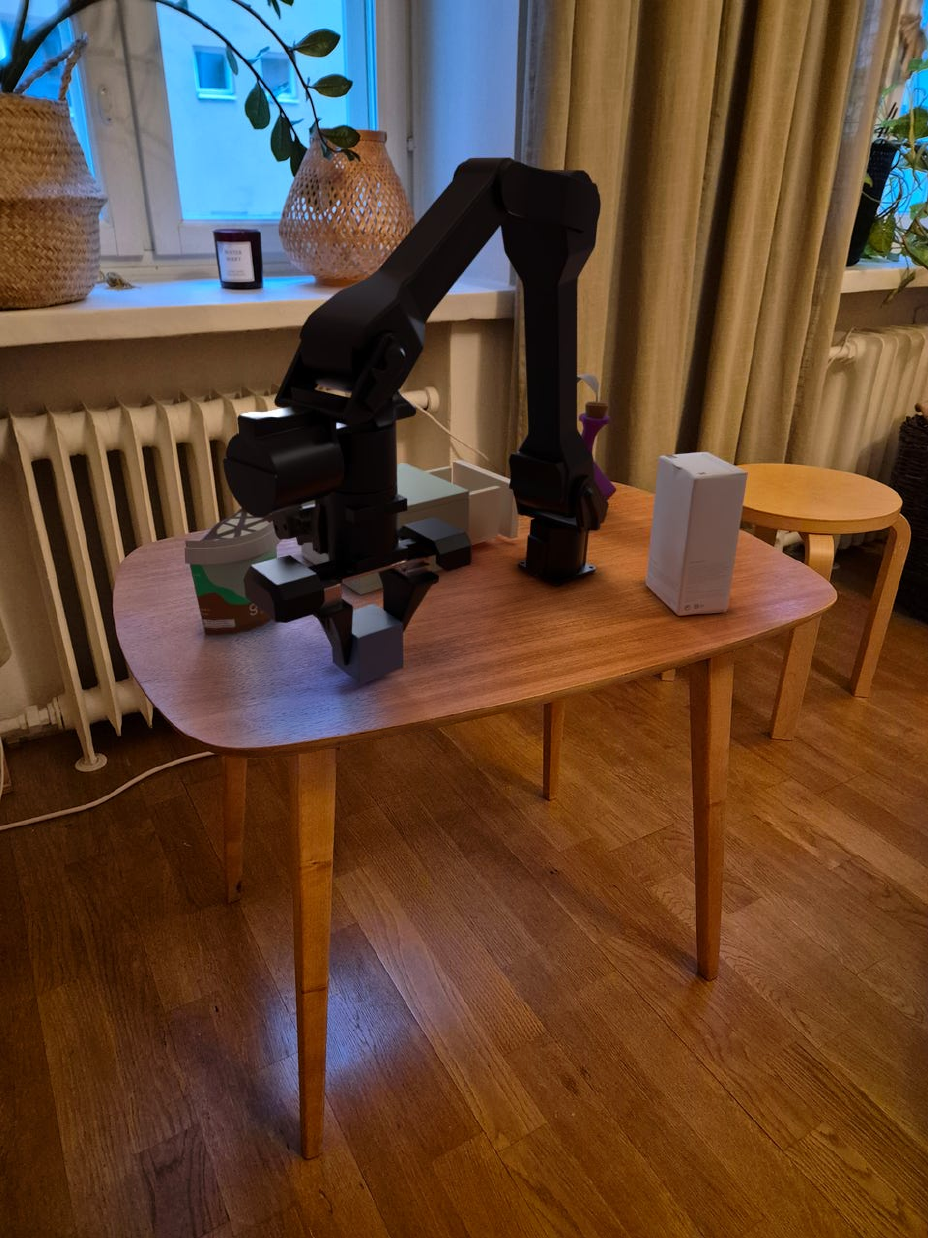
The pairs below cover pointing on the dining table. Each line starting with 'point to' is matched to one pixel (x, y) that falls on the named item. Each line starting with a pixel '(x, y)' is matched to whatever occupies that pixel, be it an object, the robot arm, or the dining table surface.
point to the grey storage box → (413, 515)
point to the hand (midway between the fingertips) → (367, 654)
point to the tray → (484, 500)
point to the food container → (230, 571)
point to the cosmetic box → (695, 531)
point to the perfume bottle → (595, 430)
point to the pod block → (373, 645)
